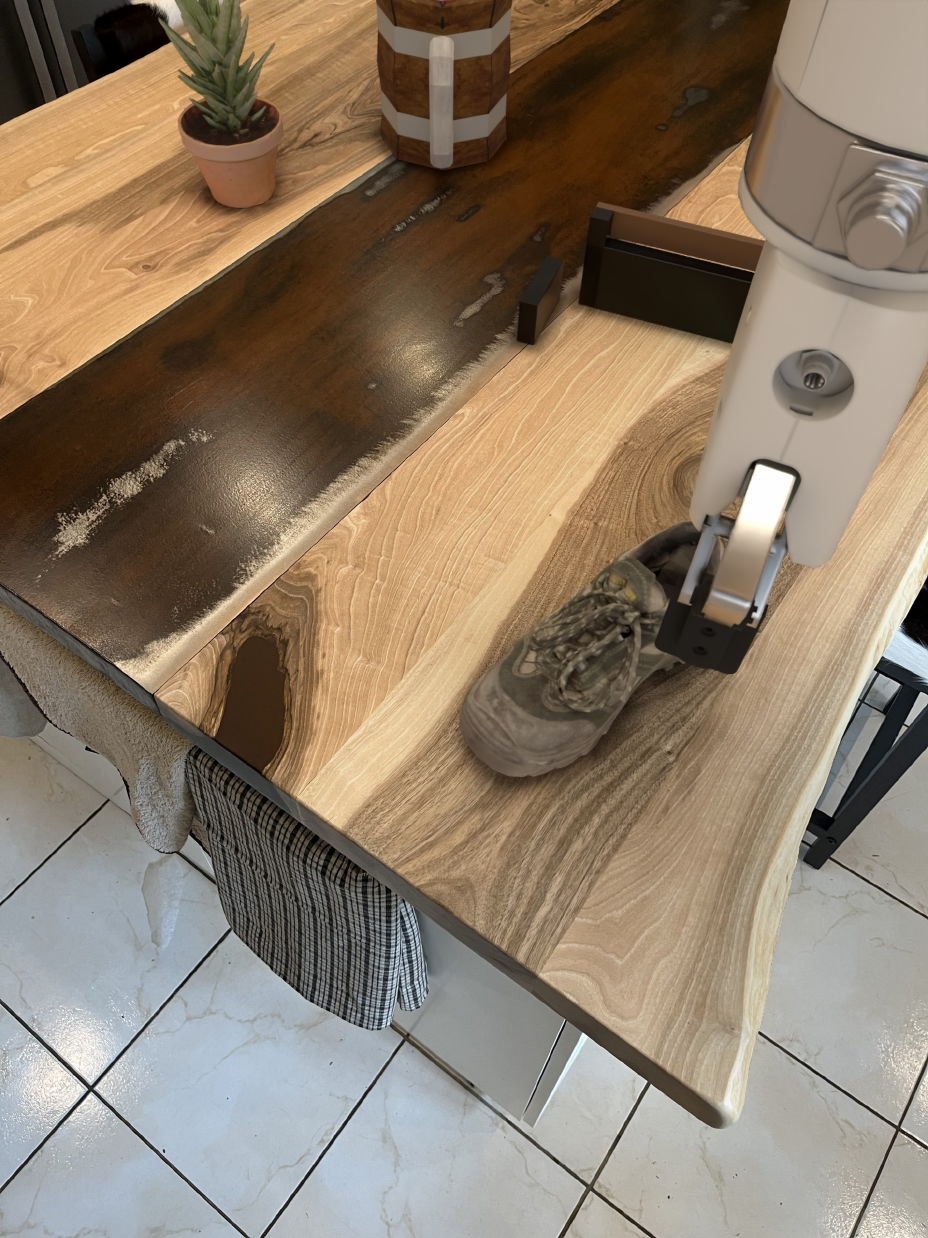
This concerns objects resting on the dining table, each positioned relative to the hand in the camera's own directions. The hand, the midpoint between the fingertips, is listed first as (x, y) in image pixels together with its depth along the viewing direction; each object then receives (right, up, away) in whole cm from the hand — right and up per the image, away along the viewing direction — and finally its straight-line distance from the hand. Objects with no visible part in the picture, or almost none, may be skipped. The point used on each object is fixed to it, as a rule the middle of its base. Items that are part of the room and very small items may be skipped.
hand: (724, 565), depth 38 cm
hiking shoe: (-2, -6, +23) cm, 24 cm away
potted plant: (-32, +40, +55) cm, 75 cm away
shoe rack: (+8, +21, +42) cm, 48 cm away
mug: (-13, +47, +60) cm, 77 cm away
